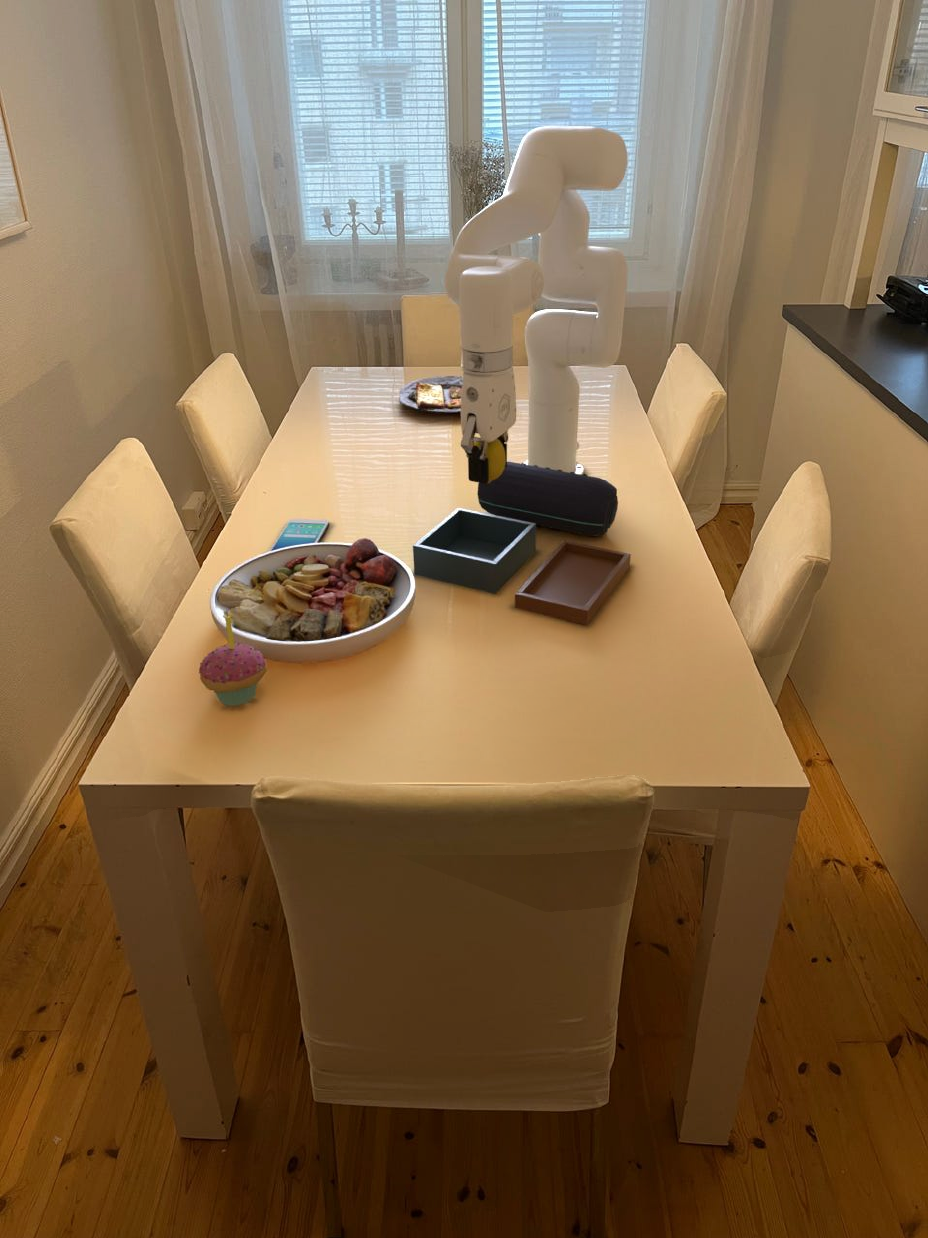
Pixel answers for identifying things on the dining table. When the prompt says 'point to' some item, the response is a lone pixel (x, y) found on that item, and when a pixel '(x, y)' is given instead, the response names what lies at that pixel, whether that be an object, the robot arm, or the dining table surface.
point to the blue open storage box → (475, 550)
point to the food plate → (433, 394)
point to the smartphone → (301, 533)
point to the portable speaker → (551, 499)
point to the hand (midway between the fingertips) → (487, 472)
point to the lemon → (494, 458)
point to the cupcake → (233, 670)
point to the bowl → (315, 600)
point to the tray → (573, 582)
